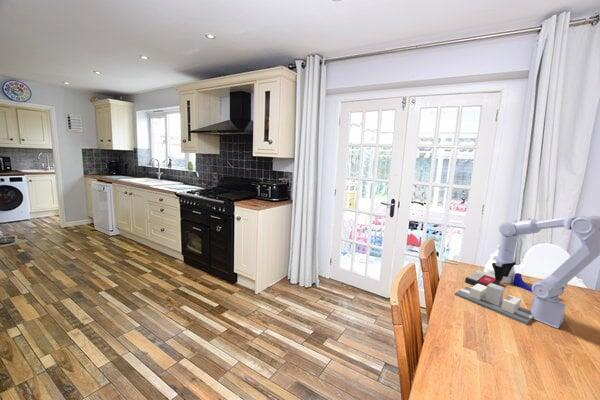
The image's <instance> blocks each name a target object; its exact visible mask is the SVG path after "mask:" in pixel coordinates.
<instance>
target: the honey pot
mask: <svg viewBox="0 0 600 400" xmlns="http://www.w3.org/2000/svg"><path fill="white" fill-rule="evenodd" d="M497 248H498V249H499V244H497ZM498 249H497V250H496V251H495V252H494V253H491V254H490V255H489V256H490V258H489V259H488V261H487V262H486V264H485V265H484V269H483V272H487V273H490V274H493V275H495V272H494V268H493V266H492V263H496V261H497V260H496V258H494V256H497V255H498ZM513 260H514V261H515V259H513ZM515 274H516V271H515V268H514V266H513V267H512V269H511V271H510V273H509V275H508V277H504V276H503V279H502V281H500V284H501V283H502V284H513V281H514V276H515Z"/></svg>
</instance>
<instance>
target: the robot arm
mask: <svg viewBox="0 0 600 400" xmlns="http://www.w3.org/2000/svg"><path fill="white" fill-rule="evenodd" d="M554 228H555V229H556V228H563V229H566V230H569V231H570V230H572V232H573V233H574V234H575V235H576V236H577V237H578V239H579V240H580V243H581V246H580V247H579V248H578V249H577V250H575V251H574V253H572V254H571V255H570V256H569V257H568V258H567V259H566V260H565V261H563V263H562V264H561V265H559V267H557V268H556V269H555V270H554V271H553V272H552V273H551V274H550V275H548V276H546V277H544V278H543V279H542V280H540V281H538V282H534V283H533V284H532V285H531V286H532V292H531V293H533V297H532V302H531V306H530V313H531V314H532V315H533V318H532V320H535V321H538V322H541V323H542V324H545V325H548V326H550V327H552V328H555V329H559V328H560V326H561V325H562V323H564V316H565V312H566V306H567V305H566V303H564V302H561V301H560V298H559V296H562V295H563V294H564V293H565V289H566V287H567V286H568V283H569V282H570V281H571V280H573V279H574V278H575V277H576V276H578V274H580V273H581V271H583V270H585V268H587V267H588V266H589V265H590V264H591V263H592V262H593V261H595V260H596V259H597V258H598V257H599V256H600V216H598V215H590V216H563V217H557V218H551V219H546V220H541V221H539V220H537V219H535V218H531V217H528V218H525V219H524V220H519V221H518V220H512V222H504V223H502V224H500V225H499V227H498V231H499V233H500V237H499V244H498V245H499V248H498V249H497V250H498V255H497V256H494V258H496V260H497V261H496V263H492V266H493V268H494V272H495V280H498V281H502V279H503V276H504V277H508V275H509V273H510V271H511V269H512V267H513V268H514V267H515V265H516V264H517V263H516V262H515V259H514V256H515V253H516V247H517V241H518V237H519V236H521V235H529V234H532V235H533V234H538V233H540V231H541V230H543V229H554ZM513 259H514V260H513Z"/></svg>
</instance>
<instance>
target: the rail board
mask: <svg viewBox="0 0 600 400" xmlns="http://www.w3.org/2000/svg"><path fill="white" fill-rule="evenodd" d="M470 288H471V287H469V286H465V287H463V288H460V289H459V290H458V291H456V292H455V293H454V295H455V296H456V297H458V298H462V299H464V300H465V301H466V300H467V301H468V302H471V303H473V304H475V305H478V306H481V307H483V308H485V309H488V310H490V311H492V312H494V313H497V314H499V315H502V316H504V317H507V318H509V319H512V320H514V321H516V322H519V323H521V324H523V325H526V326H527V325H528V324H530V322H531V321H532V320H533V319H532V318H533V315H532V314H531V313H530V311H531V309H527V308H524V307H522V306H520V308H519V309H518V310H517V311H516V312H515V313H514V314H512V313H510V312H507V311H505V310H502V309H501V307H502V303H501V304H500V305H499V306H497V305H494V304H492V303H489V302H487V301H485V297H483V298H482V299H480V300H477V299H475V298H472V297H470V296H469V294H470ZM503 300H504V299H503ZM503 300H502V302H503Z"/></svg>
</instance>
